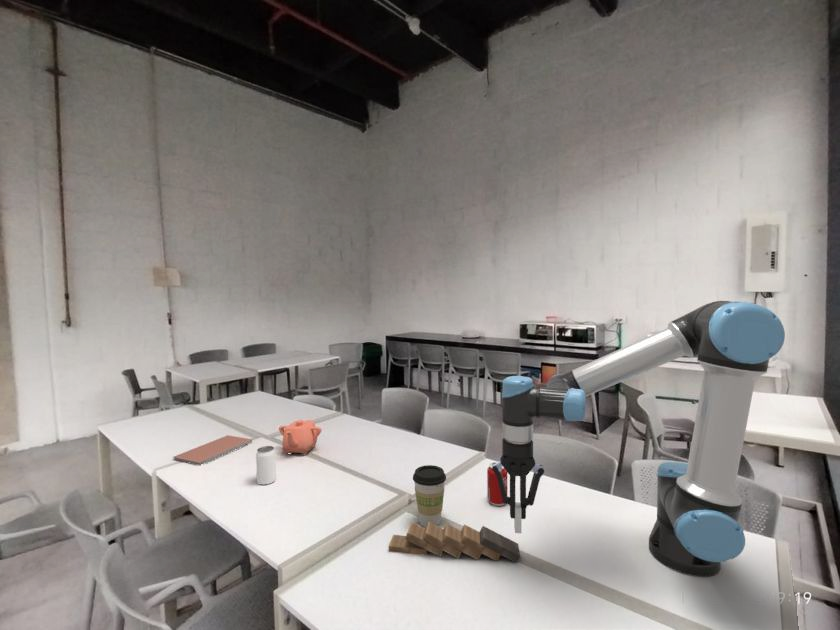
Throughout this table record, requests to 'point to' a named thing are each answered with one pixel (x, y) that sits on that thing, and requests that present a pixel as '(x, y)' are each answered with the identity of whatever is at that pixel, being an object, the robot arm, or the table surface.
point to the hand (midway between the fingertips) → (517, 530)
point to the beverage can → (495, 486)
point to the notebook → (212, 450)
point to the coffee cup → (429, 493)
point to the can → (266, 465)
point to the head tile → (499, 544)
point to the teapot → (299, 436)
